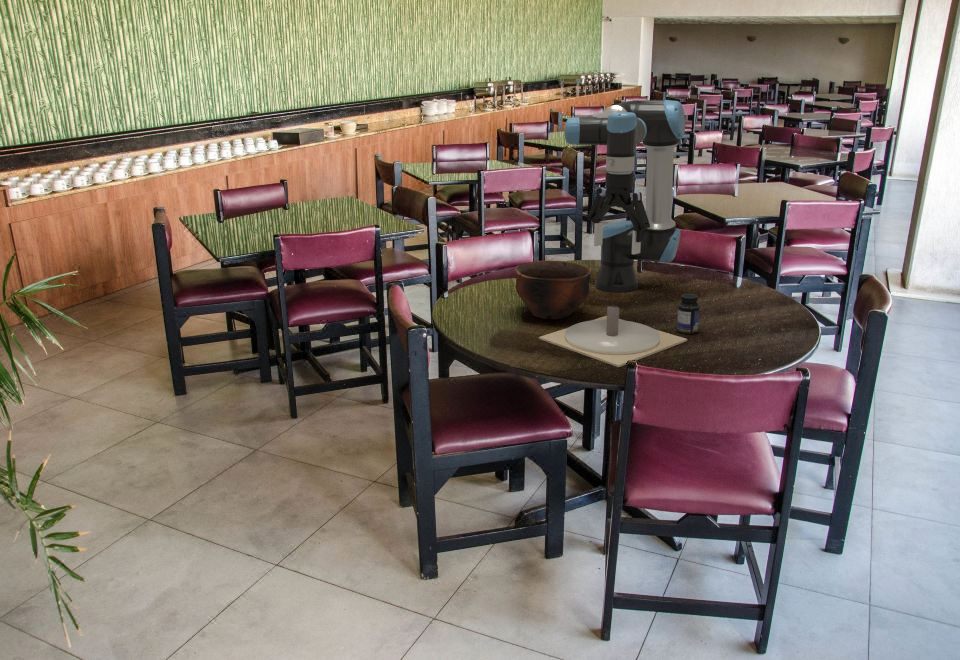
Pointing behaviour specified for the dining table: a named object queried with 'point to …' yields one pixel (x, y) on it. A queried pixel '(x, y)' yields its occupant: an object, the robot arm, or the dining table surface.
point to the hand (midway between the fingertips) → (616, 249)
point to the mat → (616, 360)
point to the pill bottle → (688, 314)
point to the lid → (612, 335)
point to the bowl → (552, 287)
